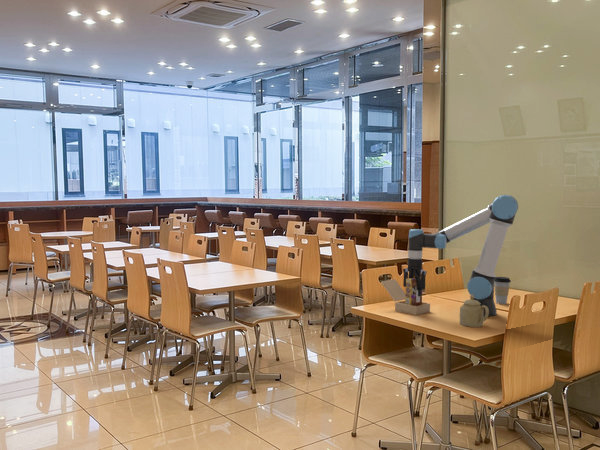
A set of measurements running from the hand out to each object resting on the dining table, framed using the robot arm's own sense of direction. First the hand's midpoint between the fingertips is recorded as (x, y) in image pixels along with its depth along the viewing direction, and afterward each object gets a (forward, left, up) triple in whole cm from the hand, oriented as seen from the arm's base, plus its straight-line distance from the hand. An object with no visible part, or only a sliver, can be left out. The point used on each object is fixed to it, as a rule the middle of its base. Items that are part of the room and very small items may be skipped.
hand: (413, 301), depth 304 cm
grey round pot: (-37, +3, -6) cm, 38 cm away
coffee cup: (-20, -61, -6) cm, 65 cm away
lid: (+12, 0, +5) cm, 13 cm away
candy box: (0, 0, -3) cm, 3 cm away
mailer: (+1, 0, -6) cm, 6 cm away
